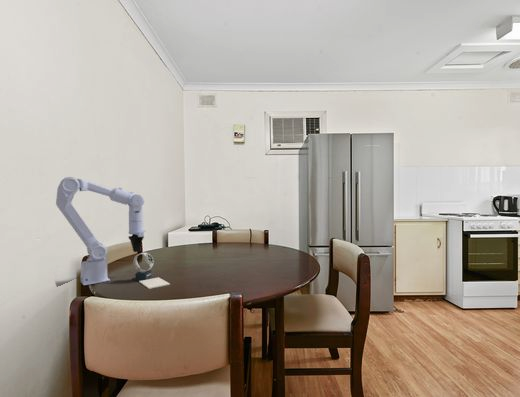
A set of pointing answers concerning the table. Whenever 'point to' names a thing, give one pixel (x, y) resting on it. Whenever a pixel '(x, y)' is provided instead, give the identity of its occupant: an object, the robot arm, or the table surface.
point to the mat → (154, 283)
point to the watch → (143, 273)
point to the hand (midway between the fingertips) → (136, 251)
